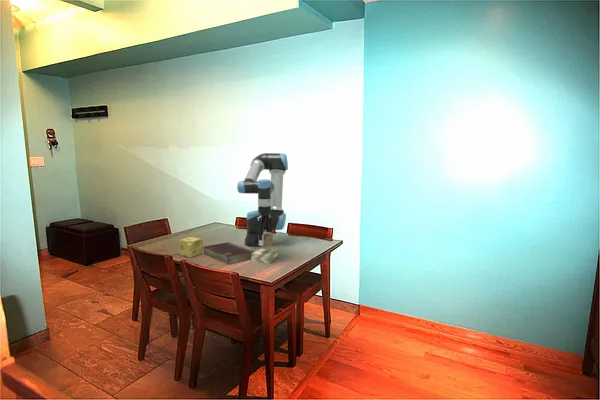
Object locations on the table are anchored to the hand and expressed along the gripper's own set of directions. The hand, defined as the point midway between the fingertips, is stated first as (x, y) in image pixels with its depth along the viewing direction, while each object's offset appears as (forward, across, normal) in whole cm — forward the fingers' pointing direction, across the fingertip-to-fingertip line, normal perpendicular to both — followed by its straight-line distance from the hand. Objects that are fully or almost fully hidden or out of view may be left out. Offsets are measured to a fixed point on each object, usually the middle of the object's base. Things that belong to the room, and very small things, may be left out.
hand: (264, 243), depth 210 cm
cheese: (+10, -14, +46) cm, 49 cm away
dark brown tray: (+10, -4, +24) cm, 26 cm away
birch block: (+10, 0, 0) cm, 10 cm away
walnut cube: (0, 0, -1) cm, 1 cm away
